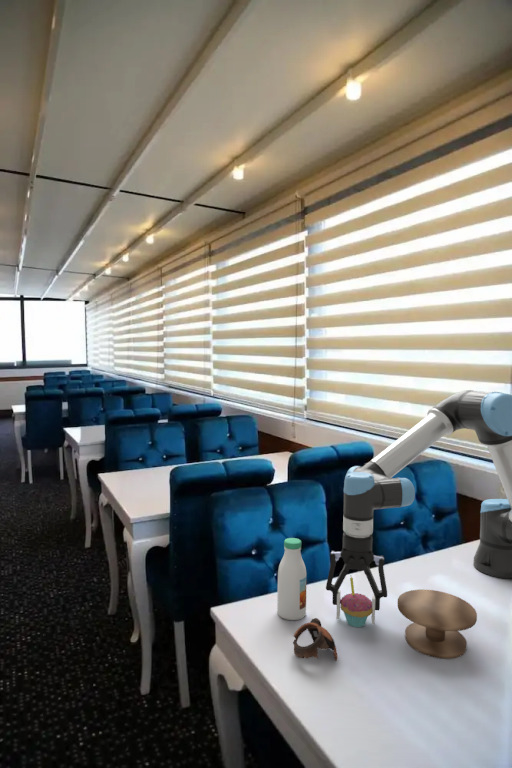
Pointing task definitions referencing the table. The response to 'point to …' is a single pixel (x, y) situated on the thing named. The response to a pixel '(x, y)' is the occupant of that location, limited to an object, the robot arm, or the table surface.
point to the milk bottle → (292, 582)
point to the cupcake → (356, 607)
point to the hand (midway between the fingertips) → (355, 618)
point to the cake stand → (436, 622)
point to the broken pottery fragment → (314, 640)
